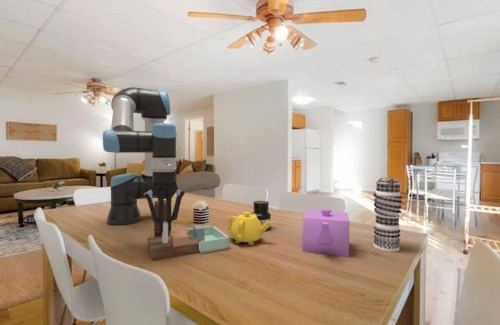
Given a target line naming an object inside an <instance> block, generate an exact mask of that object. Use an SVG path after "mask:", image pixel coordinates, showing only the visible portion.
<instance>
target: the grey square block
mask: <svg viewBox="0 0 500 325" xmlns="http://www.w3.org/2000/svg"><path fill="white" fill-rule="evenodd" d="M204 227H205V226H203V225H201V224H197V225H192V228H193V238H194V239H195V240H196V241H197V242H200V241H205V234H204Z"/></svg>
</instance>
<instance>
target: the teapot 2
mask: <svg viewBox="0 0 500 325" xmlns="http://www.w3.org/2000/svg"><path fill="white" fill-rule="evenodd" d="M348 215H349V214H348V212H338V211H337V212H336V211H335V212H334V211H332V209H330V208H321V209H320V210H309V209H308V210H305V213H304V215H303V218H302V245H301V246H302V250H301V251H302V252H308V253H316V254H325V255H332V256H341V257H349V256H350V219H349V216H348Z"/></svg>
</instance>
